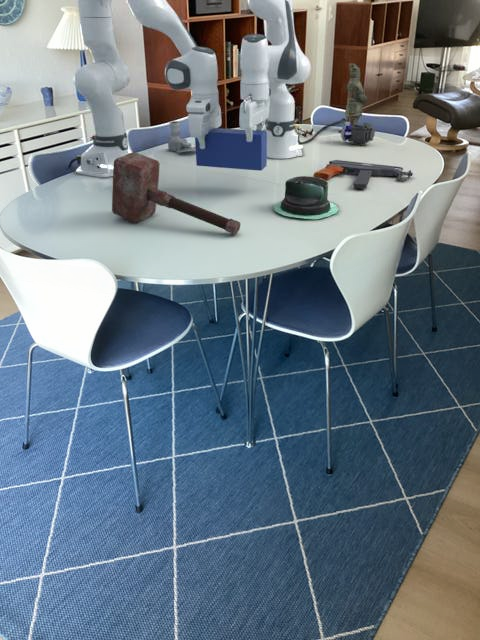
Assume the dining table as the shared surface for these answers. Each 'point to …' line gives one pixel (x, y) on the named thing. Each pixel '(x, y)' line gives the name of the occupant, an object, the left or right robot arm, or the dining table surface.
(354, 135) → the toy
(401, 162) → the dining table surface
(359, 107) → the statue
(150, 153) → the dining table surface
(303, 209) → the green fedora hat
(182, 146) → the grey boot
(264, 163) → the box
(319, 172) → the submachine gun
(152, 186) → the sledgehammer
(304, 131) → the figurine
